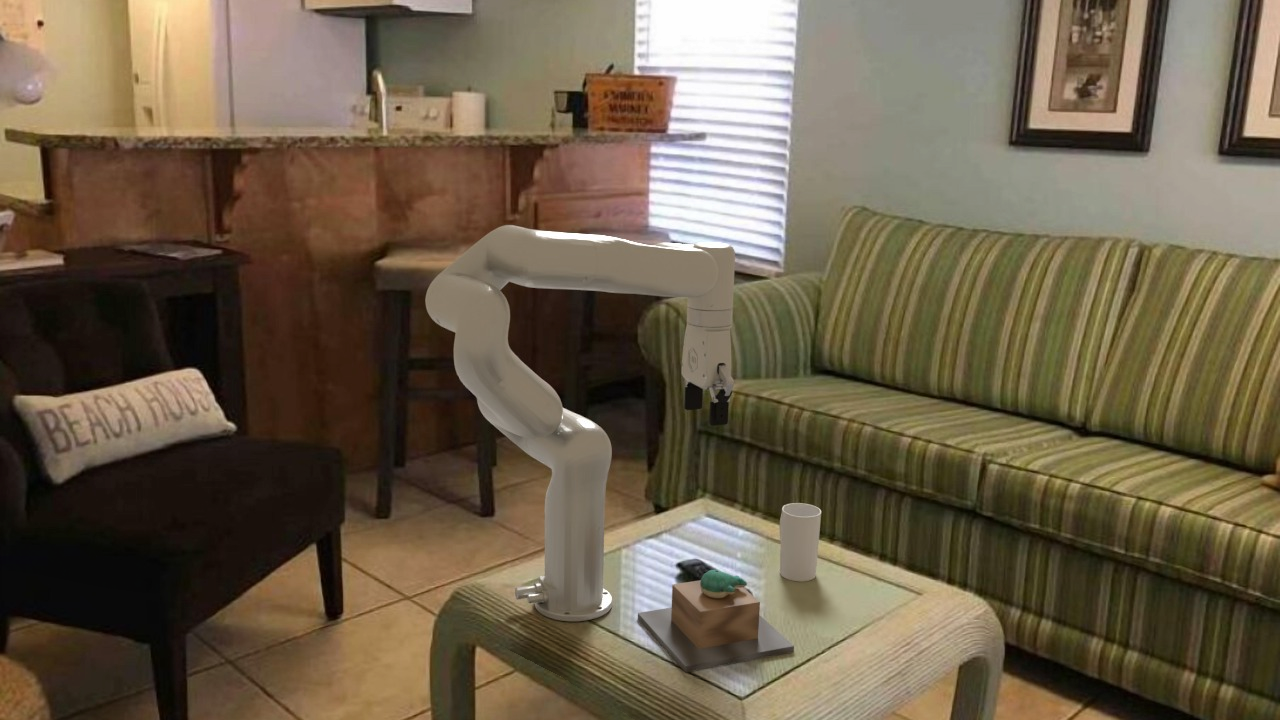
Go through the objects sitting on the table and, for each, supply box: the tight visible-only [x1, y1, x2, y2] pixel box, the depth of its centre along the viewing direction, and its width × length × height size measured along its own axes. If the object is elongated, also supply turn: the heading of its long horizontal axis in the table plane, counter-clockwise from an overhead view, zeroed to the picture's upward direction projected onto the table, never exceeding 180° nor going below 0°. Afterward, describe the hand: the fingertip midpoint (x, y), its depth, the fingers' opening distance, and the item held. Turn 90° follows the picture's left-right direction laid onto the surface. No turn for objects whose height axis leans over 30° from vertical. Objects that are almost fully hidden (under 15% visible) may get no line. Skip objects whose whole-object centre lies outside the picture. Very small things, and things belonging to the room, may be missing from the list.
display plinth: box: [637, 579, 795, 673], centre depth 171 cm, size 18×18×7 cm
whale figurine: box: [700, 569, 748, 598], centre depth 170 cm, size 6×7×4 cm
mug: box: [779, 502, 822, 582], centre depth 195 cm, size 10×7×12 cm, turn 22°
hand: (705, 416), depth 188 cm, fingers open, 9 cm apart
